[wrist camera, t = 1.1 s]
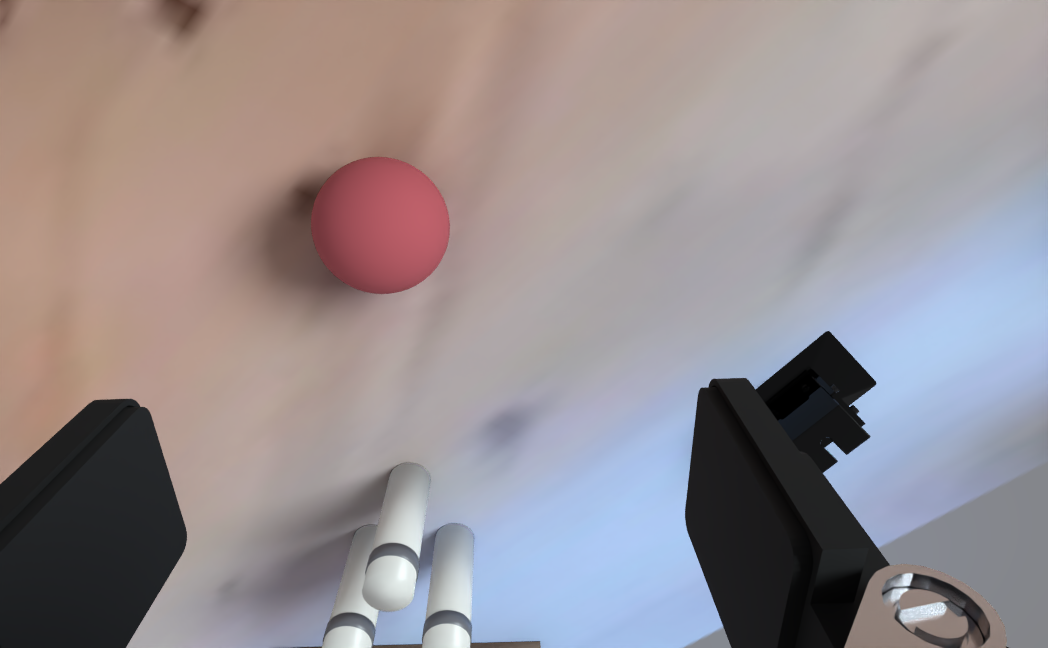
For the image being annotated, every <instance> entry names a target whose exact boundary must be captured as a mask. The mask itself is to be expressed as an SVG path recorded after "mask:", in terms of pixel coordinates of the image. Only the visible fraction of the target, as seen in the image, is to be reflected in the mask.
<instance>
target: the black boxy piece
mask: <svg viewBox="0 0 1048 648" xmlns="http://www.w3.org/2000/svg"><path fill="white" fill-rule="evenodd" d="M875 385H876V381H875V380H874V379H873V378H872V377H871V376H870V375H869V374H868V373H867V372H866V370H865V369H864V368H863V367H862V366H861V365H860V364H859V363H858V362H857V361H856V360H855V359H854V357H853V356H852V355H851V354H850V353H849V352H848V351H847V350H846V349H845V348H844V347H843V345H842V344H841V343H840V342H839V341H838V340H837V339H836V338H835V337H834V336H833V335H832V334H831V332H829V331H827V332H825V333H824V334H823V335H821V336H820V337H819V338H818V339H817V340H815V341H814V342H813V343H812V344H810V345H809V346H808V347H807V348H806V349H804V350H803V351H802V352H801V353H799V354H798V355H797V356H796V357H795V358H793V359H792V360H791V361H790V362H789V363H787V364H786V365H785V366H784V367H782V368H781V369H780V370H779V371H778V372H776V373H775V374H774V375H773V376H772V377H770V378H769V379H768V380H767V381H765V382H764V383H763V384H762V385H761V386H759V387H758V388H757V389H756V391H757V393H758V394H759V396H760V397H761V398H762V400H763V401H764V403H765V404H766V405H767V407H768V408H769V410H770V411H771V412H772V414H773V415H774V416H775V418H776V419H777V421H778V422H779V423H780V425H781V426H782V428H783V429H784V430H785V432H786V433H787V435H788V436H789V437H790V439H791V440H792V442H793V443H794V444H795V446H796V447H797V449H798V450H799V451H800V452H804V453H807V454H808V455H809V456H810V457H811V458H812V460H813V461H814V462H815V464H816V465H817V466H818V468H819V469H820V470H821V472H822V473H823V472H825V471H826V470H827V469H829V468H830V467H831V466H833V465H834V464H835V463H837V462H838V461H837V460H836V458H835V457H834V456H833V455H832V454H831V453H830V452H829V451H828V450H827V449H826V448H825V447H826V446H827V445H829V444H830V443H831V442H834V443H835V444H836V445H837V446H838V447H839V448H840V449H841V450H842V451H843V452H844V453H845V454H846V455H847V454H849V453H850V452H851V451H853V450H854V449H855V448H857V447H858V446H859V445H861V444H862V443H863V442H865V441H866V440H867V439H869V438H870V435H869V434H868V433H867V432H866V431H865V430H864V429H863V428H862V426H863V425H865V423H864V422H863V421H862V420H861V419H860V417H859V416H858V415H857V413H858V412H859V410H858V409H857V408H856V407H855V406H854V405H852V406H851V407H849V405H850V404H852V403H853V402H854V401H856V400H857V399H858V398H859V397H861V396H862V395H863V394H865V393H866V392H867V391H869V390H870V389H871V388H872V387H874V386H875Z"/></svg>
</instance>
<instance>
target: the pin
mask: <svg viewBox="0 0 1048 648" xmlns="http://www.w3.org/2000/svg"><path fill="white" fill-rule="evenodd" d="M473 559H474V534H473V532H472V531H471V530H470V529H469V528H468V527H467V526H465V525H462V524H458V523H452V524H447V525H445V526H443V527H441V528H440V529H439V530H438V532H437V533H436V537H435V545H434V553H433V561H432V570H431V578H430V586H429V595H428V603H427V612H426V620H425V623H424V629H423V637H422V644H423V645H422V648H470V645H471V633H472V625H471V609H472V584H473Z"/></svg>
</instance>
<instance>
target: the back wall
mask: <svg viewBox="0 0 1048 648" xmlns="http://www.w3.org/2000/svg"><path fill="white" fill-rule="evenodd" d="M422 645H423V644H420V645H381V646H373V647H372V648H422ZM303 648H322V647H303ZM470 648H540V641H537V642H498V643H471V645H470Z"/></svg>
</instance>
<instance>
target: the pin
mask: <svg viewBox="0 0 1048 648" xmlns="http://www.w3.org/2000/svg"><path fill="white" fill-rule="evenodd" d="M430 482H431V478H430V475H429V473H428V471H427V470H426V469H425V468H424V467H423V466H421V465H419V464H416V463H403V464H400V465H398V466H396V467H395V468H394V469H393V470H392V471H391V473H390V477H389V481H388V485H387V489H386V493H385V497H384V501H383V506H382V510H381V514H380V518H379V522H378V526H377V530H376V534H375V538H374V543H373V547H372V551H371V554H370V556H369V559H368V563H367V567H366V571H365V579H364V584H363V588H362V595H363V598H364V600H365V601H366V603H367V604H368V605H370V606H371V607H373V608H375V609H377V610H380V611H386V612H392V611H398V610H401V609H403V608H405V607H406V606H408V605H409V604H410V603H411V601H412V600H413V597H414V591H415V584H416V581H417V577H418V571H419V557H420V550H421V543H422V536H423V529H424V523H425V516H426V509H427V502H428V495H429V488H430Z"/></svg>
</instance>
